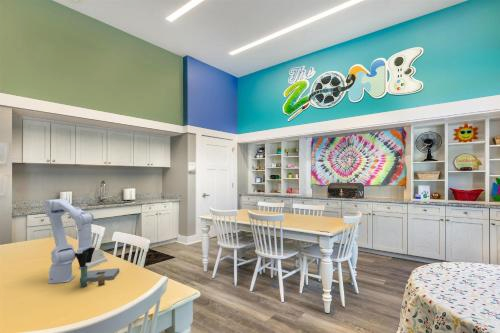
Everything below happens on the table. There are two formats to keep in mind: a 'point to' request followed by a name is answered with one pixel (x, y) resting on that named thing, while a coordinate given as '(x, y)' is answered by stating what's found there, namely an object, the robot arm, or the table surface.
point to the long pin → (83, 277)
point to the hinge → (96, 259)
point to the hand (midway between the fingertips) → (85, 264)
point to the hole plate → (94, 274)
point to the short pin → (101, 280)
